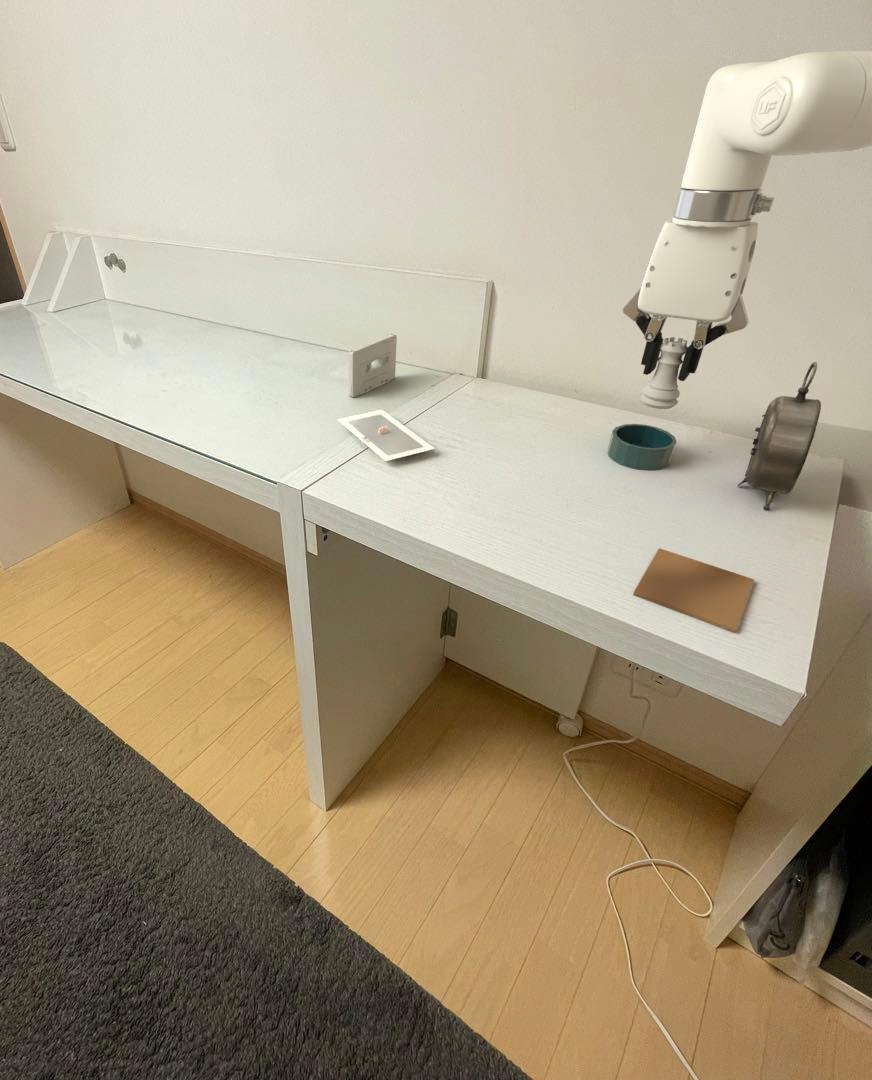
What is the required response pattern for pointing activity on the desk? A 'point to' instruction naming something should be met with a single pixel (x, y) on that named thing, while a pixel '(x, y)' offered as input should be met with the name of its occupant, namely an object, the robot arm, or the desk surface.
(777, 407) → the alarm clock
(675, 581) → the coaster
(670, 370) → the rook chess piece
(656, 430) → the teal round bowl
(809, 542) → the desk surface
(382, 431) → the touchpad
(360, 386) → the cassette
